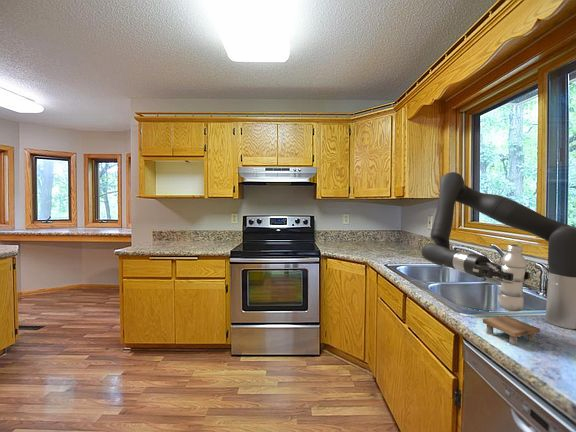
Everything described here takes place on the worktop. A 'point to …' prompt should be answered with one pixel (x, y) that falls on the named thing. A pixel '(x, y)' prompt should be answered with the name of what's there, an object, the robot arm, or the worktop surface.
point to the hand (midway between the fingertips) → (520, 276)
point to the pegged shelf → (511, 328)
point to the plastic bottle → (513, 290)
